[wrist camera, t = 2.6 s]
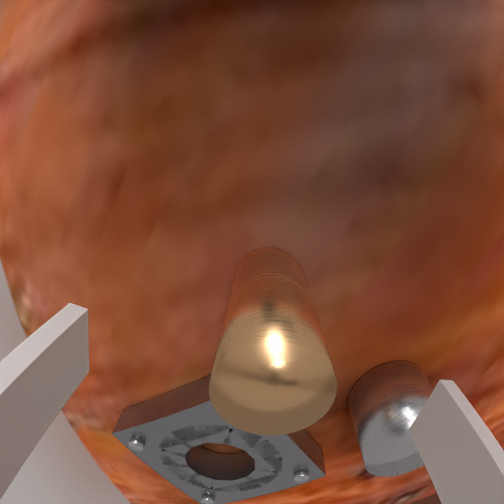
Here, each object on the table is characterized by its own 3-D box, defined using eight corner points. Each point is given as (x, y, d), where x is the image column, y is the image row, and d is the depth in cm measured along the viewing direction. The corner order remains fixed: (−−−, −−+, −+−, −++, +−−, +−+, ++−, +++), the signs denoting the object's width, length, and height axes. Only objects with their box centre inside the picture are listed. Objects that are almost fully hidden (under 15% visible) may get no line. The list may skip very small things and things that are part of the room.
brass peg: (221, 269, 19) (183, 375, 9) (281, 234, 18) (301, 318, 8) (257, 321, 20) (252, 447, 10) (314, 290, 19) (355, 405, 9)
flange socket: (123, 409, 22) (109, 438, 19) (247, 357, 20) (244, 392, 17) (208, 483, 25) (204, 511, 22) (321, 449, 23) (327, 481, 19)
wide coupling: (334, 388, 21) (351, 449, 15) (412, 345, 20) (448, 397, 14) (363, 432, 22) (379, 486, 17) (430, 396, 21) (458, 444, 16)
